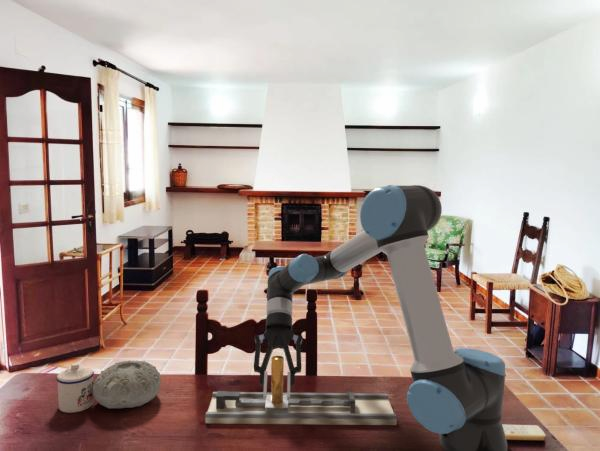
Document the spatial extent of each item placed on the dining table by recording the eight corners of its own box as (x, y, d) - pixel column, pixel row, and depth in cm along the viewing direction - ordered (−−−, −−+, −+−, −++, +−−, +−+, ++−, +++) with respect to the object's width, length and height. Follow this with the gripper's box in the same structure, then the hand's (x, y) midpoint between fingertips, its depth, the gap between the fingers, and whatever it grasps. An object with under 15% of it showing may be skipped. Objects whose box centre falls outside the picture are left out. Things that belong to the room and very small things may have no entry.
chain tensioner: (353, 399, 130) (354, 353, 128) (356, 412, 123) (358, 364, 122) (237, 398, 129) (237, 352, 128) (234, 411, 122) (234, 363, 121)
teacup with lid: (82, 415, 123) (81, 372, 121) (50, 412, 124) (48, 370, 122) (106, 393, 134) (105, 354, 133) (77, 391, 136) (75, 352, 134)
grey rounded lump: (150, 418, 122) (149, 382, 121) (81, 417, 122) (79, 380, 120) (168, 386, 140) (168, 354, 138) (108, 385, 139) (107, 353, 138)
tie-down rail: (386, 401, 133) (387, 385, 132) (396, 425, 121) (397, 406, 121) (213, 400, 132) (213, 383, 131) (205, 423, 120) (205, 404, 119)
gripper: (310, 323, 139) (311, 403, 125) (248, 322, 139) (242, 402, 125) (311, 311, 133) (312, 393, 119) (246, 310, 133) (239, 393, 119)
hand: (276, 397), depth 122 cm, fingers open, 5 cm apart
